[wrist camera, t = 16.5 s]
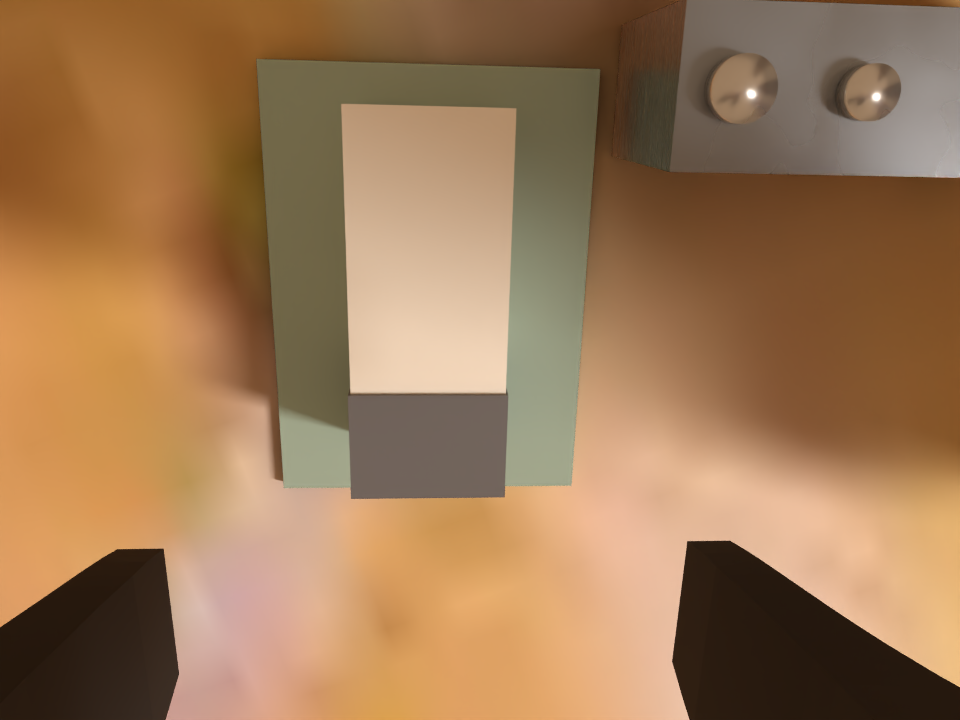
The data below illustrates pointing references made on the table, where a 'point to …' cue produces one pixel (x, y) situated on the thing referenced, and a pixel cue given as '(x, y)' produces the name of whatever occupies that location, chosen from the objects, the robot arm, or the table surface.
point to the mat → (322, 248)
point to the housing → (791, 89)
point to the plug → (428, 297)
